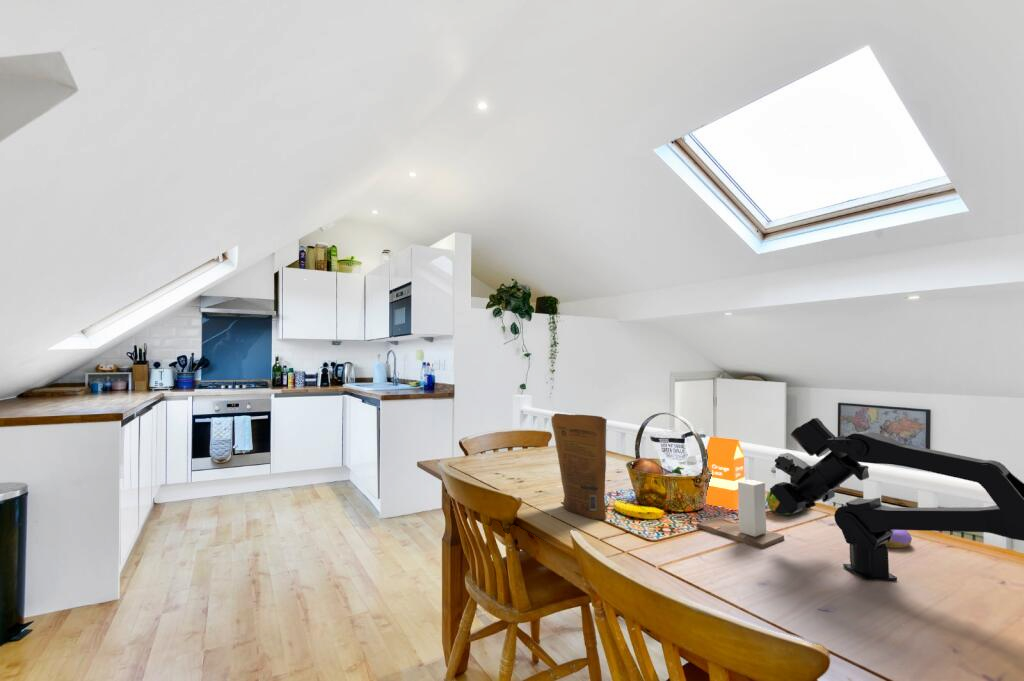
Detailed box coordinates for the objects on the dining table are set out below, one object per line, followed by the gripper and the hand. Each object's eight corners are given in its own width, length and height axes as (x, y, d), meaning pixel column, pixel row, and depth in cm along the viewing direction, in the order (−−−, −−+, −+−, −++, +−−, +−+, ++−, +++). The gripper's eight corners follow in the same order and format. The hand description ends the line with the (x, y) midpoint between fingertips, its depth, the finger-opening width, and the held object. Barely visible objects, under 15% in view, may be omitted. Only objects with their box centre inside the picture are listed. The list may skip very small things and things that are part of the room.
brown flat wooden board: (784, 539, 114) (784, 534, 114) (762, 548, 109) (762, 543, 109) (719, 520, 128) (719, 515, 128) (696, 527, 123) (696, 522, 123)
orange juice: (734, 511, 136) (733, 441, 137) (704, 504, 142) (703, 437, 143) (745, 506, 141) (744, 438, 142) (716, 499, 148) (715, 435, 149)
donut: (877, 531, 119) (880, 513, 119) (918, 552, 111) (922, 533, 110) (849, 536, 116) (853, 517, 115) (890, 558, 107) (894, 539, 107)
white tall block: (766, 532, 115) (764, 482, 116) (755, 536, 113) (753, 485, 113) (750, 527, 119) (748, 479, 119) (738, 531, 116) (737, 482, 116)
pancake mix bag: (599, 524, 125) (598, 417, 126) (549, 507, 140) (549, 411, 141) (615, 519, 129) (614, 415, 130) (565, 503, 144) (565, 410, 145)
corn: (759, 486, 134) (795, 477, 145) (757, 513, 134) (794, 501, 145) (785, 494, 128) (822, 484, 139) (784, 522, 128) (820, 509, 139)
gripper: (818, 439, 113) (772, 477, 121) (778, 447, 102) (731, 488, 111) (858, 480, 106) (806, 517, 114) (819, 492, 95) (765, 532, 104)
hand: (777, 512), depth 111 cm, fingers closed
